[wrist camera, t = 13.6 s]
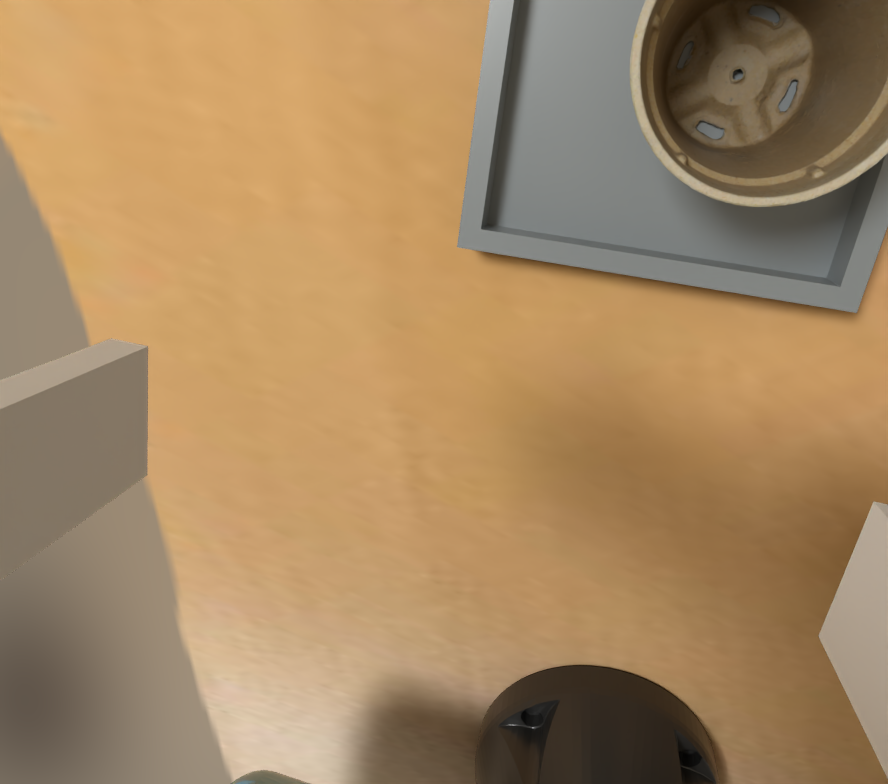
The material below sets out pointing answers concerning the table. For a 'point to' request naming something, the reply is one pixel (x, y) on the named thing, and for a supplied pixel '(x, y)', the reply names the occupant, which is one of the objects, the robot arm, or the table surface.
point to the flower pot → (763, 94)
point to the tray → (636, 173)
